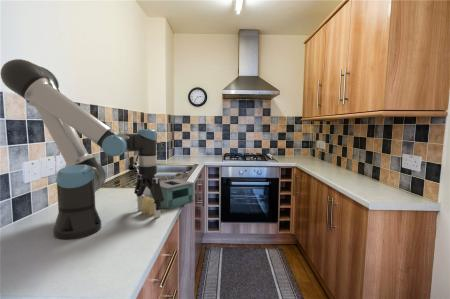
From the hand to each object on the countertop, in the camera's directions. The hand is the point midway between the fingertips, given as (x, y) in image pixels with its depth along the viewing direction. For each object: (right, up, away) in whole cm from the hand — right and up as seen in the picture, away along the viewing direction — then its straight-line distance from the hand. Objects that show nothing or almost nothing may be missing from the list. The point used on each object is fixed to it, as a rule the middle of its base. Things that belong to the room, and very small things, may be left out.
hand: (148, 213), depth 111 cm
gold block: (0, 0, 0) cm, 0 cm away
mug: (-4, +2, +27) cm, 28 cm away
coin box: (+7, +1, +17) cm, 18 cm away
